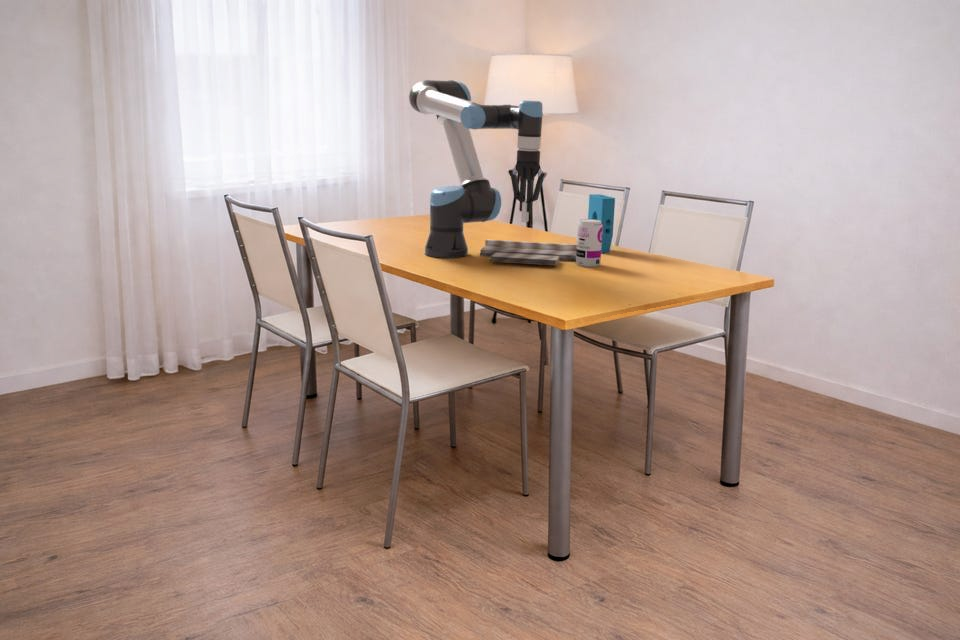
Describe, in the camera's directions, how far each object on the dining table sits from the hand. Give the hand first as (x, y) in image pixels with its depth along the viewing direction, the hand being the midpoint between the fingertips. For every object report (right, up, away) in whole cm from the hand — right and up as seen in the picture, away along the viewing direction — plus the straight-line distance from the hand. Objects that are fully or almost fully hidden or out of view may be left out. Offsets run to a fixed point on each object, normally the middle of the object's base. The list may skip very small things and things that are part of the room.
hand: (524, 221), depth 287 cm
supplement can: (+22, -14, +4) cm, 26 cm away
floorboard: (+4, -10, +17) cm, 20 cm away
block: (+29, -8, +31) cm, 43 cm away
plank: (0, -13, +4) cm, 13 cm away
